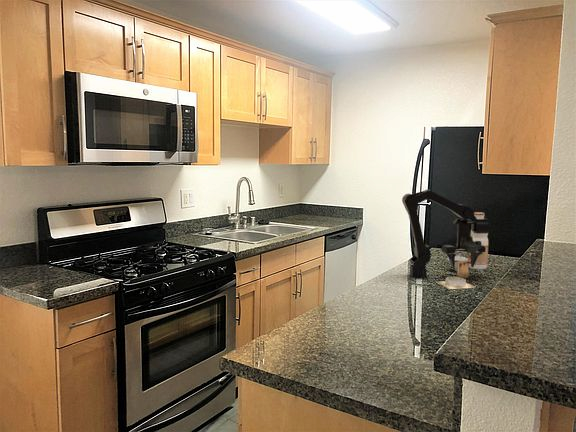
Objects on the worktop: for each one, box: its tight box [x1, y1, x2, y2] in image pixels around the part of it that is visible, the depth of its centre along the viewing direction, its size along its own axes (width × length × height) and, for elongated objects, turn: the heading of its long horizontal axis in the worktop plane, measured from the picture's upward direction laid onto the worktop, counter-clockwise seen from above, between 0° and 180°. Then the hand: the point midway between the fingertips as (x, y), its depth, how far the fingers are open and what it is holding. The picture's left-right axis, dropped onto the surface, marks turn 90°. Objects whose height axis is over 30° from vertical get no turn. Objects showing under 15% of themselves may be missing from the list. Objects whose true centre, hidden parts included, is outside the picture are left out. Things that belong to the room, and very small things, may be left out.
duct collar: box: [445, 276, 467, 287], centre depth 198 cm, size 8×8×2 cm
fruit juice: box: [467, 211, 489, 270], centre depth 232 cm, size 9×9×28 cm
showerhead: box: [447, 254, 468, 272], centre depth 227 cm, size 9×7×10 cm
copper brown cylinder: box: [457, 261, 469, 279], centre depth 211 cm, size 4×4×8 cm
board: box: [436, 280, 477, 290], centre depth 198 cm, size 12×12×1 cm
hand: (462, 267), depth 211 cm, fingers open, 9 cm apart
